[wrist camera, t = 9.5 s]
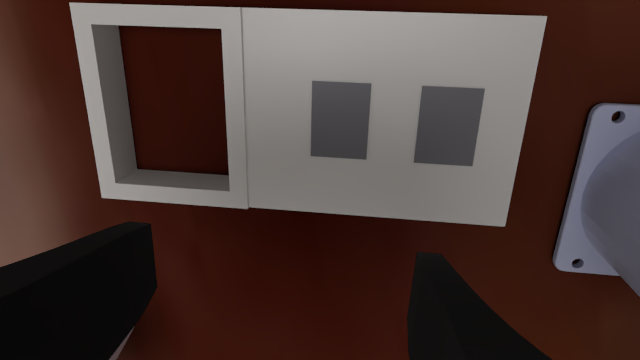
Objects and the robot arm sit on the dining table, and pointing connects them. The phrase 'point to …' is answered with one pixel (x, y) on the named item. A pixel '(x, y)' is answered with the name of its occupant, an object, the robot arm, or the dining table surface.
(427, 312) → the robot arm
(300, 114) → the power strip
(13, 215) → the dining table surface
